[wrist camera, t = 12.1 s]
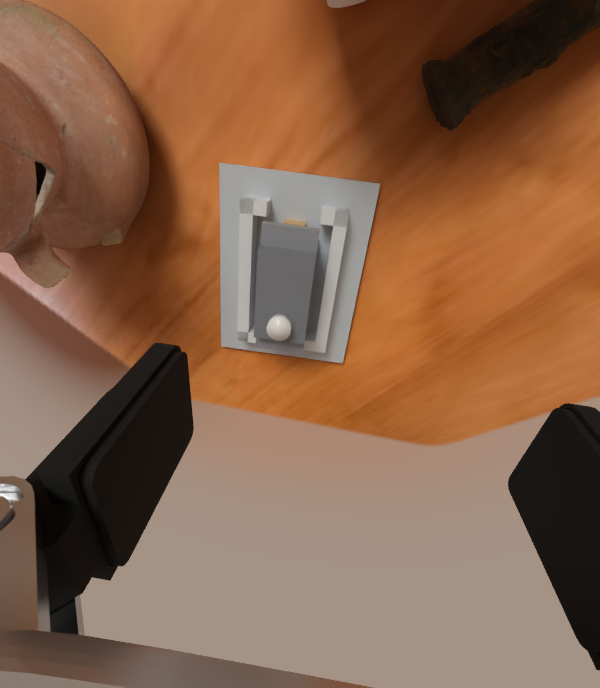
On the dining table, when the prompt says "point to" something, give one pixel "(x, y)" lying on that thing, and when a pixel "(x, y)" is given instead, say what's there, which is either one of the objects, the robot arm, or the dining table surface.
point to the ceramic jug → (63, 143)
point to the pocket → (332, 255)
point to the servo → (284, 284)
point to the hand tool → (506, 55)
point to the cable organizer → (342, 3)
